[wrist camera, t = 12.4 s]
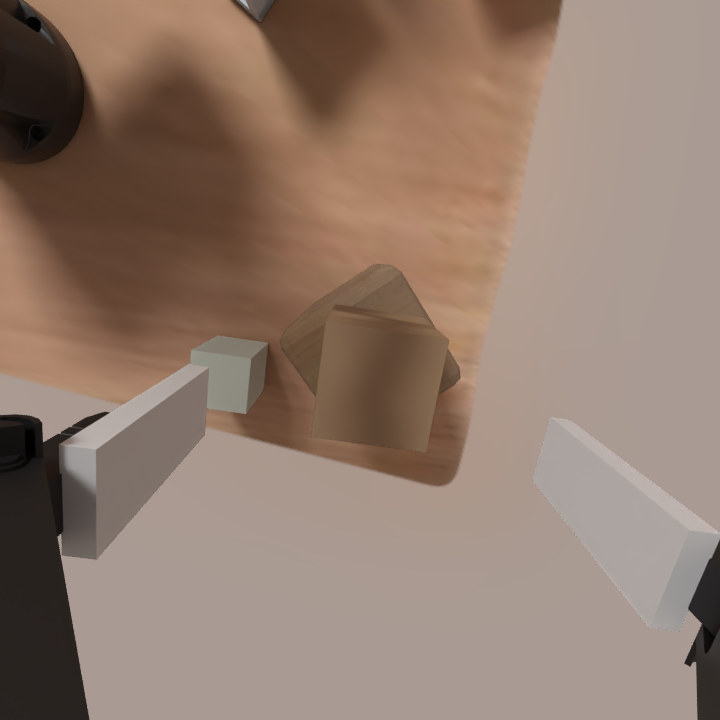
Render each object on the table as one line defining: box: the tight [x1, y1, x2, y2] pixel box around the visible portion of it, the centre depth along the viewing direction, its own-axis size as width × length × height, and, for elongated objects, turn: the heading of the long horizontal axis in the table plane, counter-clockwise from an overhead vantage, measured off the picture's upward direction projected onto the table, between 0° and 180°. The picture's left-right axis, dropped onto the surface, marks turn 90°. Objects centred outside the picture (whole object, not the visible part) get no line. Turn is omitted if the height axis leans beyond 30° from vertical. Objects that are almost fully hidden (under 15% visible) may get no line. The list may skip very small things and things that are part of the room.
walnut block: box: [311, 304, 449, 452], centre depth 24 cm, size 6×6×8 cm
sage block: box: [190, 335, 268, 414], centre depth 44 cm, size 6×6×8 cm
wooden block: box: [280, 264, 460, 397], centre depth 37 cm, size 10×10×20 cm
